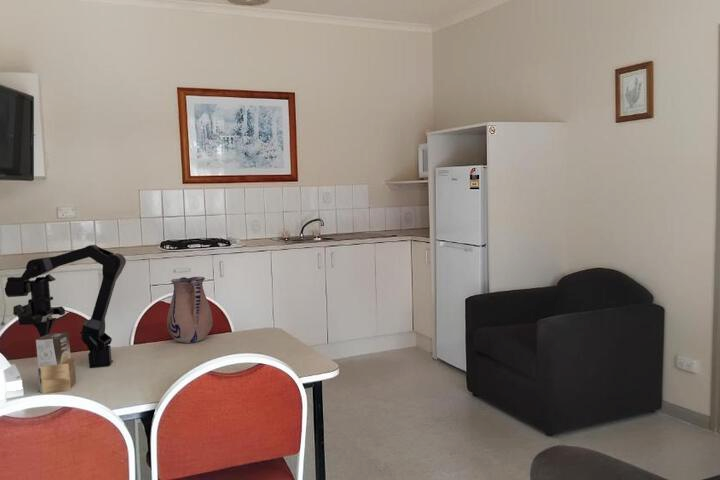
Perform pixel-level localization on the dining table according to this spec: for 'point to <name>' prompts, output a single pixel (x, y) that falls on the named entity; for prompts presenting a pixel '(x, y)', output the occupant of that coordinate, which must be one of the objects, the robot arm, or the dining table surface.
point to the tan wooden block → (58, 377)
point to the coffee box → (52, 351)
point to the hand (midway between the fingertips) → (44, 340)
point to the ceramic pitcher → (189, 311)
